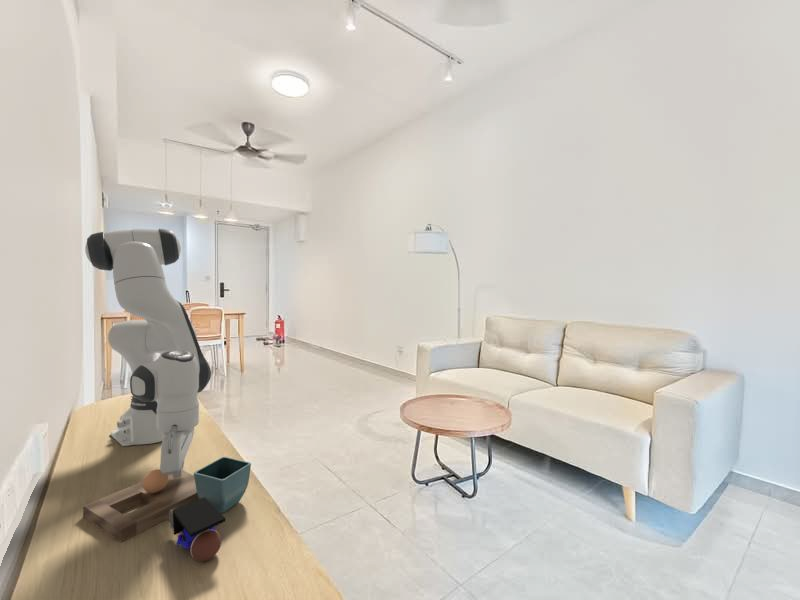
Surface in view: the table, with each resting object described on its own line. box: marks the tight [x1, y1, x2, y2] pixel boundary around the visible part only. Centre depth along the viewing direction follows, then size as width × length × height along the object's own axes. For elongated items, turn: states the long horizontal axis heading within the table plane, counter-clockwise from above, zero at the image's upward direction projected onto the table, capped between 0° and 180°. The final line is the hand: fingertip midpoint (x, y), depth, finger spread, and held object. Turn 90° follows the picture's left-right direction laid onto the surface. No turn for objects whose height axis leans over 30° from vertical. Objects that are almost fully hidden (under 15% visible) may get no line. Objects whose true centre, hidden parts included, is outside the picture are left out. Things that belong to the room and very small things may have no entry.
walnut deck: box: [82, 470, 199, 543], centre depth 86 cm, size 16×20×2 cm
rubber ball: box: [142, 468, 168, 493], centre depth 87 cm, size 5×5×5 cm
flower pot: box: [193, 456, 252, 514], centre depth 86 cm, size 9×9×9 cm
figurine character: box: [168, 497, 227, 562], centre depth 73 cm, size 7×8×15 cm
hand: (178, 475), depth 91 cm, fingers closed
